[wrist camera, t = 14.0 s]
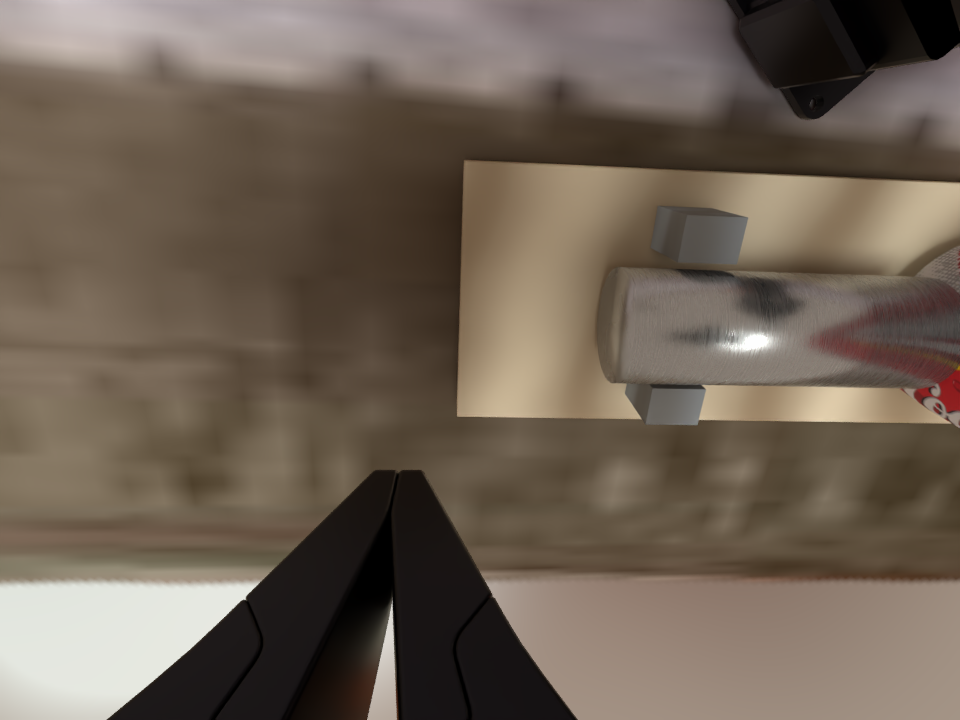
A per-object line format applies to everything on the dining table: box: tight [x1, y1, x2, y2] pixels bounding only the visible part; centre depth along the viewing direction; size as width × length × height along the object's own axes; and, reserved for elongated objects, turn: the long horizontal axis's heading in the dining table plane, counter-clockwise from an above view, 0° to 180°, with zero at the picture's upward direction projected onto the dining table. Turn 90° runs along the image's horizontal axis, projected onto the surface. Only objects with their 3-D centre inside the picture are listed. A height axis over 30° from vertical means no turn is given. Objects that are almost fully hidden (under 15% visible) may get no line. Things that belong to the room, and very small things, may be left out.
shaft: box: [597, 267, 960, 389], centre depth 18 cm, size 11×4×4 cm, turn 87°
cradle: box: [457, 160, 960, 425], centre depth 19 cm, size 28×10×6 cm, turn 87°
